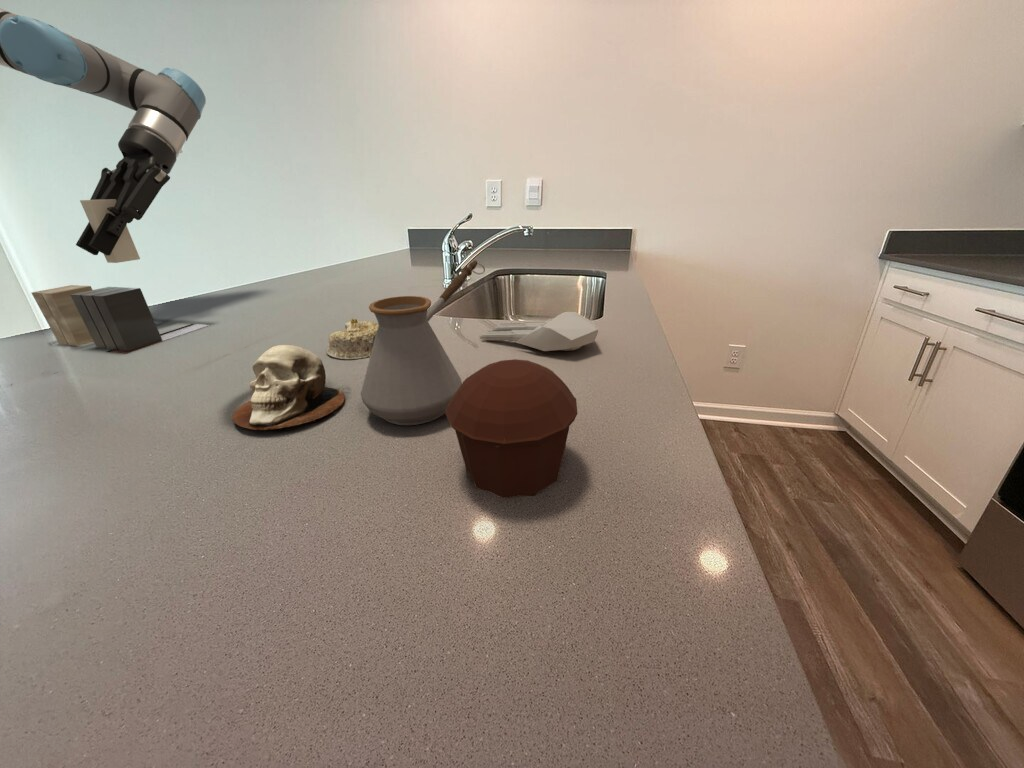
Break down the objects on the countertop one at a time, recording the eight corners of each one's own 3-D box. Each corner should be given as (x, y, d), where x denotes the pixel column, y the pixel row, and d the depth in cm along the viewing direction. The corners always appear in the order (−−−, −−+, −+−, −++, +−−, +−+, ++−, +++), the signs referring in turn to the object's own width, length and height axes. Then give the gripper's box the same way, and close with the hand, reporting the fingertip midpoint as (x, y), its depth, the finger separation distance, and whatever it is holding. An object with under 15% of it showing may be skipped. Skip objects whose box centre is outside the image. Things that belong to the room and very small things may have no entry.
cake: (395, 340, 72) (393, 310, 70) (381, 363, 63) (378, 330, 61) (338, 337, 72) (334, 308, 69) (316, 360, 63) (310, 327, 60)
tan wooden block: (50, 352, 69) (17, 293, 65) (142, 325, 82) (119, 274, 78) (84, 356, 67) (52, 295, 63) (172, 328, 80) (151, 275, 76)
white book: (107, 262, 71) (79, 200, 67) (131, 258, 75) (106, 199, 70) (116, 262, 71) (89, 200, 66) (140, 259, 74) (115, 199, 70)
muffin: (497, 422, 45) (493, 337, 41) (592, 450, 40) (599, 356, 36) (426, 484, 36) (411, 383, 32) (537, 530, 31) (538, 417, 27)
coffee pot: (422, 445, 42) (401, 301, 35) (343, 420, 47) (312, 289, 40) (518, 369, 58) (516, 261, 52) (453, 356, 63) (444, 257, 57)
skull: (304, 434, 42) (224, 362, 40) (265, 476, 47) (192, 413, 45) (369, 381, 52) (308, 322, 50) (331, 420, 57) (274, 367, 55)
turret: (505, 338, 77) (500, 313, 75) (608, 337, 67) (606, 308, 65) (475, 356, 69) (470, 329, 67) (588, 358, 59) (585, 326, 57)
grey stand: (93, 356, 67) (61, 295, 63) (180, 328, 80) (159, 276, 76) (129, 360, 65) (99, 297, 61) (212, 331, 78) (192, 277, 74)
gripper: (203, 159, 77) (149, 264, 70) (142, 162, 81) (86, 262, 74) (164, 122, 70) (100, 235, 63) (100, 128, 74) (32, 235, 67)
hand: (92, 250), depth 68 cm, fingers closed on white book, 2 cm apart
